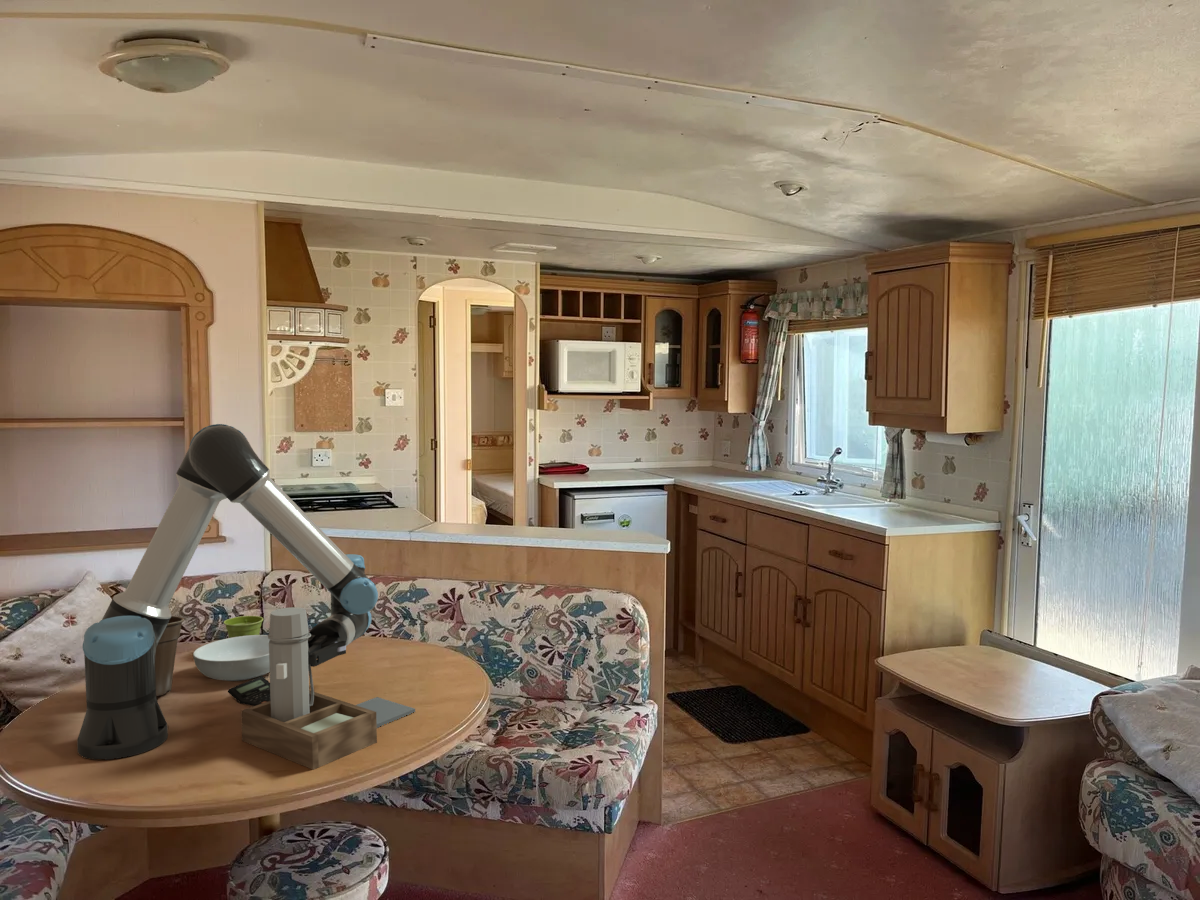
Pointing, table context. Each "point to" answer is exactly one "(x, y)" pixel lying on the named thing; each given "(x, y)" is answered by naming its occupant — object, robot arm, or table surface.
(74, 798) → the table surface
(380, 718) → the slate mat
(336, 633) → the robot arm
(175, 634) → the plant pot
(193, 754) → the table surface
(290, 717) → the water bottle
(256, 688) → the calculator
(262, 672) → the serving bowl
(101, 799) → the table surface
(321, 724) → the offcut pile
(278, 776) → the table surface
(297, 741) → the walnut divided tray
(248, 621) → the plant pot
